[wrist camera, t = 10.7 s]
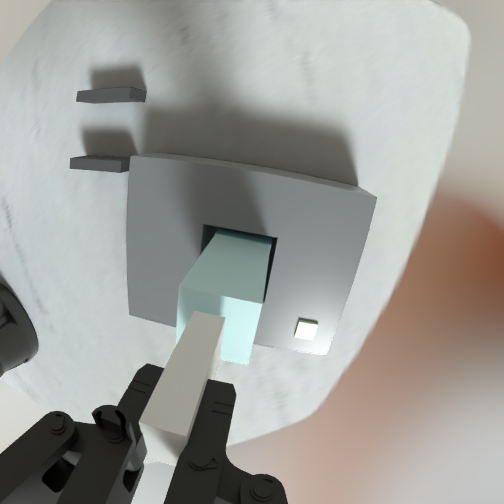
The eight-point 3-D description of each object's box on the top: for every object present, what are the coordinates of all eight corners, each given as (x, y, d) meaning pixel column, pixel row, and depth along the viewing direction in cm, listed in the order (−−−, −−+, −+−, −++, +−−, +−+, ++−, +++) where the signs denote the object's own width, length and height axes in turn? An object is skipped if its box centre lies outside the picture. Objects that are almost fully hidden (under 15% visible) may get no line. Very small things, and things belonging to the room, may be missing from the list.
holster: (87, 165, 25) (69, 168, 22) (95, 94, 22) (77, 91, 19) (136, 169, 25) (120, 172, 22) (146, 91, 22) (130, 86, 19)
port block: (150, 289, 29) (128, 316, 24) (157, 152, 24) (128, 156, 19) (320, 323, 28) (326, 357, 23) (359, 187, 23) (378, 198, 18)
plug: (218, 263, 26) (174, 348, 15) (225, 219, 24) (177, 284, 13) (263, 272, 26) (248, 366, 15) (273, 229, 24) (263, 303, 13)
